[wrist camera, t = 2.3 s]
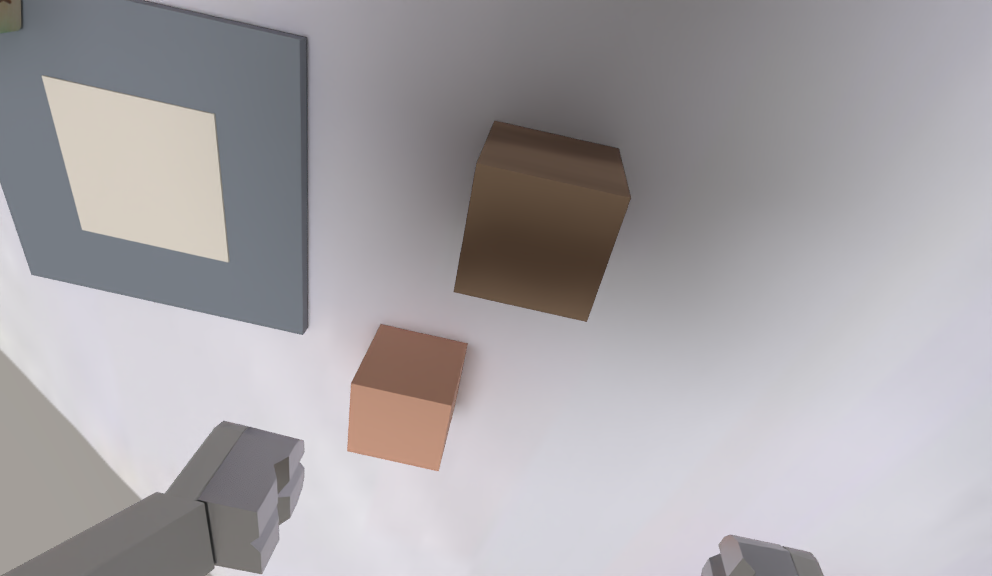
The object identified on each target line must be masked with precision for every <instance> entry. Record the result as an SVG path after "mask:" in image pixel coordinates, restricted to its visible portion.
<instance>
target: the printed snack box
mask: <svg viewBox="0 0 992 576" xmlns="http://www.w3.org/2000/svg"><path fill="white" fill-rule="evenodd" d="M20 28H21V0H0V33H7V32H13V31H19V30H20Z"/></svg>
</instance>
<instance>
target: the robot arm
mask: <svg viewBox="0 0 992 576" xmlns="http://www.w3.org/2000/svg"><path fill="white" fill-rule="evenodd" d="M303 454H304V440H300V439H296V438H292V437H288V436H284V435H280V434H276V433H272V432H268V431H264V430H260V429H256V428H252V427H248V426H244V425H240V424H235V423H231V422H227V421H223V422H221V423H220V424H219V425H217V426H216V427H215V428H214V429H213V430H212V432H211V433H210V434H209V436H208V437H207V438H206V440H205V441H204V442H203V444H202V445H201V446H200V448H199V449H198V450H197V452H196V453H195V454H194V456H193V457H192V458H191V459H190V461H189V462H188V463H187V465H186V466H185V467H184V469H183V470H182V471H181V473H180V474H179V475H178V477H177V478H176V479H175V481H174V482H173V483H172V485H171V486H170V487H169V489H168V490H167V491H166V493H159V492H156V493H154V494H152V495H150V496H148V497H146V498H144V499H143V500H141V501H139V502H137V503H135V504H134V505H131V506H130V507H128V508H126V509H124V510H122V511H120V512H119V513H117V514H115V515H113V516H111V517H109V518H107V519H105V520H103V521H102V522H100V523H98V524H96V525H94V526H92V527H90V528H89V529H87V530H85V531H83V532H81V533H79V534H78V535H76V536H74V537H72V538H70V539H68V540H66V541H64V542H63V543H61V544H59V545H57V546H55V547H54V548H51V549H50V550H48V551H46V552H44V553H42V554H40V555H38V556H37V557H35V558H33V559H31V560H29V561H28V562H25V563H24V564H22V565H20V566H18V567H16V568H14V569H12V570H11V571H9V572H7V573H5V574H3V575H1V576H205V575H207V574H208V573H209V572H211V571H212V570H213V569H214V565H216V566H222V567H227V568H232V569H237V570H242V571H248V572H253V573H258V574H262V573H263V571H264V569H265V567H266V565H267V563H268V561H269V559H270V557H271V555H272V553H273V551H274V549H275V547H276V545H277V543H278V541H279V525H280V524H282V523H283V522H285V521H286V520H288V519H289V518H290V517H291V515H292V513H293V511H294V509H295V507H296V505H297V502H298V499H299V496H300V493H301V490H302V487H303V481H304V467H303V465H302V464H301V463H300V460H301V458H302V456H303ZM719 549H720V553H721V554H718V555H716V556H713V557H711V558H709V559H708V560H707V562H706V564H705V565H704V567H703V568H702V573H701V576H824V575H823V573H822V570H821V568H820V566H819V563H818V561H817V559H816V558H815V557H814V556H813V554H812V553H810V552H807V551H803V550H798V549H794V548H789V547H784V546H781V545H778V544H774V543H769V542H764V541H759V540H754V539H750V538H745V537H740V536H735V535H728V536H726V537H724V538H723V539H722V541H721V542H720V543H719Z"/></svg>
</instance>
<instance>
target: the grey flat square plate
mask: <svg viewBox="0 0 992 576" xmlns="http://www.w3.org/2000/svg"><path fill="white" fill-rule="evenodd" d="M0 183H1V186H2V189H3V192H4V195H5V198H6V201H7V204H8V207H9V209H10V212H11V215H12V218H13V221H14V224H15V227H16V230H17V233H18V236H19V239H20V242H21V245H22V248H23V251H24V254H25V257H26V260H27V263H28V266H29V269H30V271H31V274H32V275H35V276H40V277H44V278H49V279H53V280H58V281H62V282H67V283H71V284H76V285H80V286H85V287H89V288H94V289H98V290H103V291H107V292H112V293H117V294H121V295H126V296H130V297H135V298H139V299H144V300H148V301H153V302H157V303H162V304H166V305H171V306H175V307H180V308H184V309H189V310H193V311H198V312H202V313H207V314H211V315H216V316H220V317H225V318H229V319H234V320H238V321H243V322H247V323H252V324H256V325H261V326H265V327H270V328H274V329H279V330H283V331H288V332H292V333H297V334H301V335H303V334H304V333H305V331H306V330H307V328H308V278H307V38H306V37H303V36H298V35H294V34H289V33H285V32H280V31H276V30H272V29H267V28H263V27H258V26H254V25H249V24H245V23H241V22H236V21H232V20H227V19H223V18H218V17H214V16H210V15H205V14H201V13H196V12H192V11H188V10H183V9H179V8H174V7H170V6H165V5H161V4H157V3H152V2H148V1H143V0H21V28H20V30H19V31H13V32H7V33H0Z"/></svg>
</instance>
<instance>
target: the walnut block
mask: <svg viewBox="0 0 992 576" xmlns="http://www.w3.org/2000/svg"><path fill="white" fill-rule="evenodd" d="M630 199H631V196H630V192H629V188H628V184H627V180H626V176H625V172H624V168H623V164H622V160H621V156H620V152H619V149H618V148H614V147H609V146H605V145H601V144H596V143H592V142H587V141H583V140H578V139H574V138H570V137H565V136H561V135H556V134H552V133H547V132H543V131H539V130H534V129H530V128H525V127H521V126H516V125H512V124H508V123H503V122H499V121H494V123H493V125H492V128H491V130H490V132H489V135H488V137H487V139H486V142H485V144H484V147H483V149H482V151H481V154H480V156H479V158H478V161H477V163H476V169H475V174H474V180H473V186H472V191H471V197H470V203H469V208H468V214H467V220H466V225H465V231H464V236H463V242H462V248H461V253H460V259H459V265H458V270H457V276H456V282H455V287H454V292H456V293H460V294H465V295H469V296H474V297H478V298H482V299H487V300H491V301H496V302H500V303H505V304H509V305H514V306H518V307H523V308H527V309H532V310H536V311H541V312H545V313H550V314H554V315H559V316H563V317H567V318H572V319H576V320H581V321H585V322H587V320H588V317H589V314H590V311H591V309H592V306H593V303H594V300H595V297H596V295H597V292H598V289H599V286H600V283H601V281H602V278H603V275H604V272H605V269H606V267H607V264H608V261H609V258H610V255H611V252H612V250H613V247H614V244H615V241H616V238H617V236H618V233H619V230H620V227H621V224H622V222H623V219H624V216H625V213H626V210H627V208H628V205H629V202H630Z"/></svg>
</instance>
